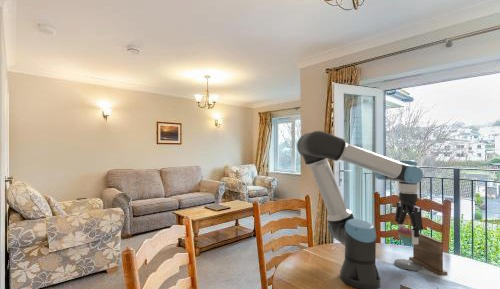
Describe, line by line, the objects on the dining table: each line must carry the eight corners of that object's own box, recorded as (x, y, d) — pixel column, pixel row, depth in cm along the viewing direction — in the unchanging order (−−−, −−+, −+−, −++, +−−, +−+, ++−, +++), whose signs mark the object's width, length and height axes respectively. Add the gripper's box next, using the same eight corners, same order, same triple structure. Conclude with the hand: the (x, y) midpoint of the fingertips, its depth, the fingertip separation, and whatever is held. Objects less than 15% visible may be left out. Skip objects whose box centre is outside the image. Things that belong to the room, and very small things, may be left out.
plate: (404, 271, 116) (405, 268, 116) (389, 261, 127) (389, 258, 127) (427, 270, 117) (427, 268, 117) (410, 260, 128) (410, 258, 128)
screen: (436, 274, 113) (436, 242, 114) (409, 259, 130) (409, 231, 131) (447, 274, 114) (447, 242, 114) (418, 259, 131) (418, 231, 131)
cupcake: (421, 247, 118) (421, 220, 118) (401, 245, 120) (401, 219, 120) (413, 241, 126) (413, 216, 127) (394, 239, 128) (395, 215, 128)
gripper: (433, 196, 113) (433, 248, 113) (400, 189, 134) (400, 233, 133) (417, 196, 113) (417, 249, 112) (386, 189, 134) (386, 234, 133)
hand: (408, 240), depth 123 cm, fingers closed on cupcake, 8 cm apart
